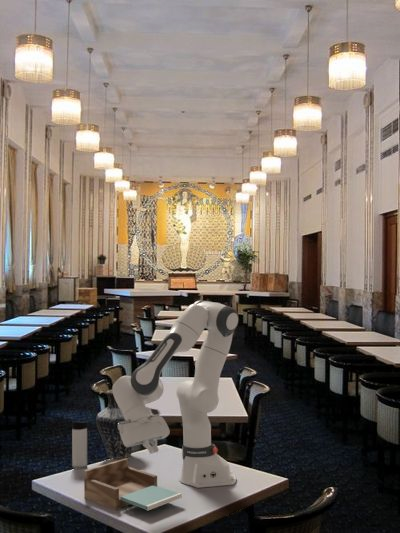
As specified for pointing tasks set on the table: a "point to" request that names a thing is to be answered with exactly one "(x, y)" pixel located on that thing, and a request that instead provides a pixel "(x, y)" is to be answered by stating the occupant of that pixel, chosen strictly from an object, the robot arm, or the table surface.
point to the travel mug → (79, 444)
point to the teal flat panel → (151, 497)
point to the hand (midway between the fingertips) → (154, 452)
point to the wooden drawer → (115, 483)
